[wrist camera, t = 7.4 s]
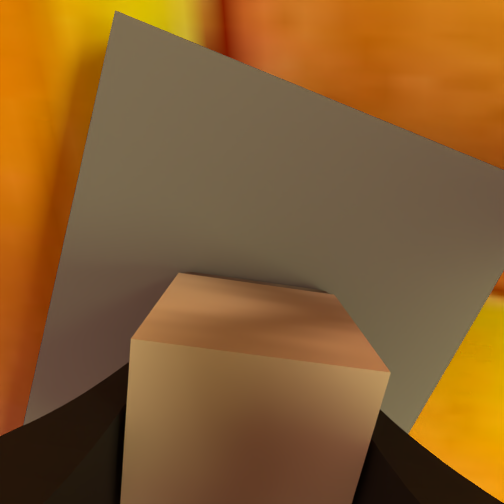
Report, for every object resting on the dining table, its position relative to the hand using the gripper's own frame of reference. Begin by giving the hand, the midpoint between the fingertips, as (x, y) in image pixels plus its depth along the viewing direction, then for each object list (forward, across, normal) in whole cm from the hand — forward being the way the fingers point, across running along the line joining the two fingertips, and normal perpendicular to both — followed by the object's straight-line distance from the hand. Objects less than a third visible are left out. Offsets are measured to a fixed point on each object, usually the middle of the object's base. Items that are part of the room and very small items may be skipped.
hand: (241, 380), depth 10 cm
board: (+2, 0, +1) cm, 2 cm away
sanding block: (+1, 0, 0) cm, 1 cm away
